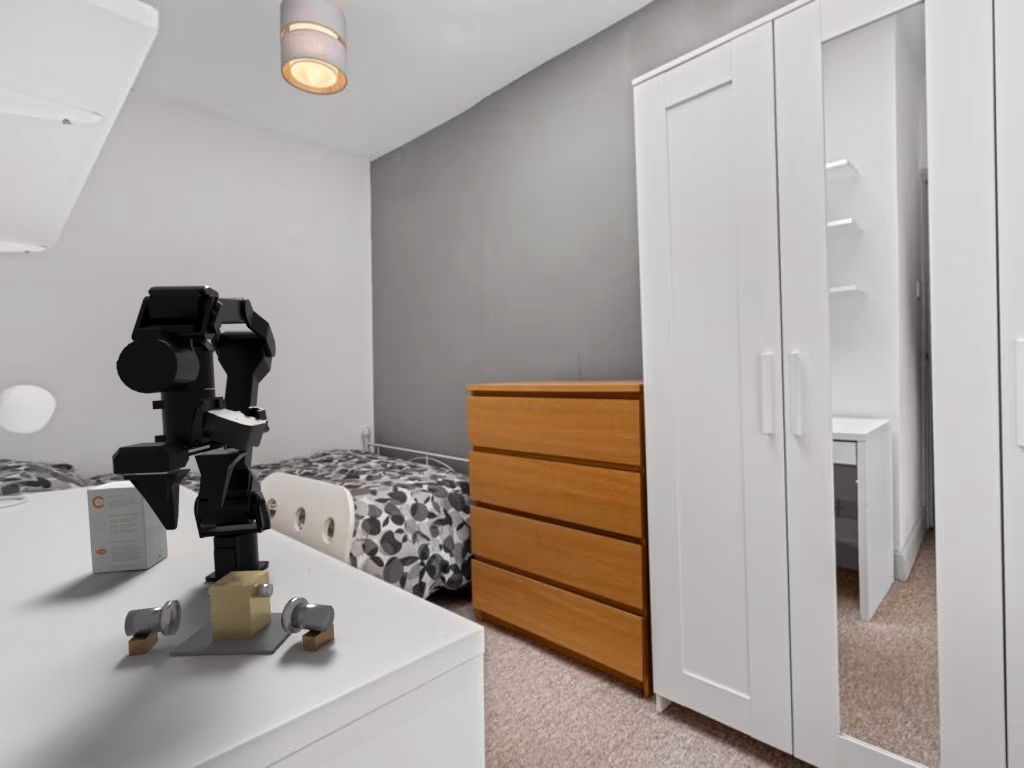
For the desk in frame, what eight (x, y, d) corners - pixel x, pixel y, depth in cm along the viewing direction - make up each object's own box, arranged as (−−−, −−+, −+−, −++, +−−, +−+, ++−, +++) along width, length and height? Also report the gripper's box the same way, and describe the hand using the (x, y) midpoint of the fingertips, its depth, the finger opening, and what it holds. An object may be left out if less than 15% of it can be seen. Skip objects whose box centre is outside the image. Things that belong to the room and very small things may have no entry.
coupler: (224, 622, 65) (221, 571, 64) (281, 621, 64) (278, 570, 64) (201, 641, 60) (198, 586, 60) (262, 639, 60) (259, 585, 60)
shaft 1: (182, 635, 62) (180, 594, 62) (170, 650, 59) (167, 608, 59) (138, 640, 61) (136, 600, 61) (123, 657, 58) (121, 613, 58)
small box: (168, 556, 91) (164, 477, 91) (147, 570, 85) (142, 485, 84) (116, 560, 90) (111, 480, 90) (90, 574, 84) (85, 489, 83)
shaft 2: (282, 648, 58) (280, 605, 58) (304, 632, 62) (302, 591, 62) (317, 652, 57) (315, 609, 57) (338, 636, 61) (336, 595, 60)
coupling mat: (218, 616, 67) (218, 614, 67) (307, 614, 66) (307, 612, 66) (169, 655, 58) (169, 652, 58) (272, 653, 57) (272, 650, 57)
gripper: (208, 391, 57) (217, 540, 57) (288, 384, 76) (294, 497, 76) (103, 395, 57) (113, 544, 58) (208, 388, 76) (215, 500, 77)
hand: (196, 518), depth 67 cm, fingers open, 9 cm apart
